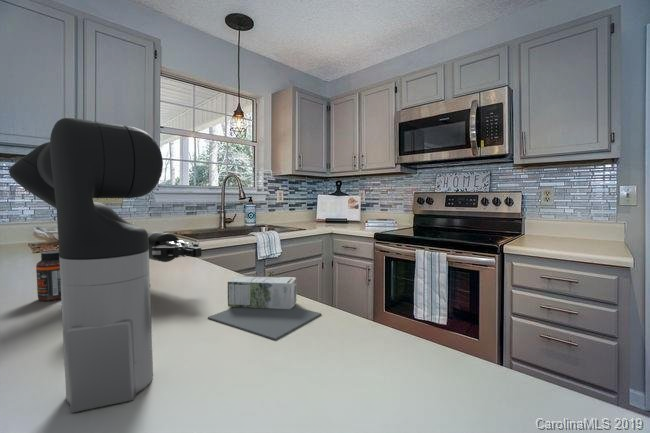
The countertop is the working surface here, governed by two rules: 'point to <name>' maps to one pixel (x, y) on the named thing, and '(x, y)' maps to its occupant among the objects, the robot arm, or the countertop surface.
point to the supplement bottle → (49, 276)
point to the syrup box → (262, 292)
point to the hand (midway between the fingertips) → (198, 252)
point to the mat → (265, 320)
